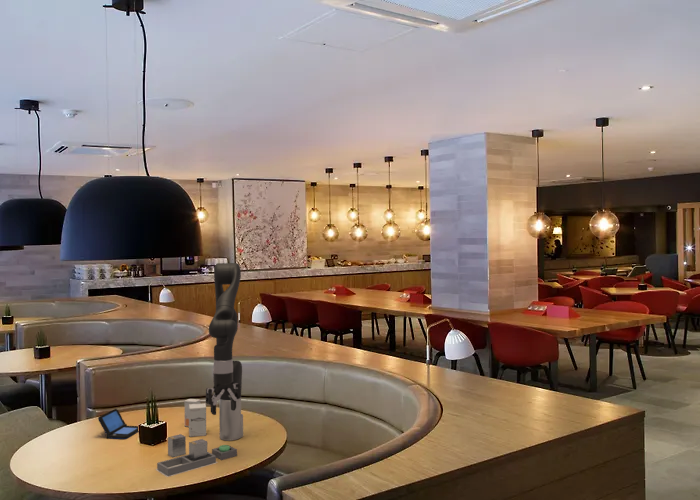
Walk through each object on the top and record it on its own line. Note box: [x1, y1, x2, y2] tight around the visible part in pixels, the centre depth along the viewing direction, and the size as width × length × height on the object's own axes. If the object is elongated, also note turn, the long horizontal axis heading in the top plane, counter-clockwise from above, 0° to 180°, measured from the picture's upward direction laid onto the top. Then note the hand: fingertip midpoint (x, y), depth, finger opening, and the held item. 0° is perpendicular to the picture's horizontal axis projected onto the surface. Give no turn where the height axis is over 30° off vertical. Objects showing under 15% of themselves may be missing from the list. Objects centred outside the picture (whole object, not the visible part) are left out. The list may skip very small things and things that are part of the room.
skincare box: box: [184, 398, 201, 428], centre depth 279 cm, size 6×4×12 cm
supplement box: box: [188, 402, 207, 438], centre depth 267 cm, size 7×7×13 cm
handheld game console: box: [97, 408, 139, 440], centre depth 269 cm, size 16×13×9 cm
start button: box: [218, 444, 230, 452], centre depth 238 cm, size 4×4×2 cm
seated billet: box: [188, 438, 208, 462], centre depth 230 cm, size 6×4×8 cm
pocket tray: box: [155, 451, 219, 478], centre depth 227 cm, size 20×10×4 cm, turn 133°
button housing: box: [211, 445, 238, 461], centre depth 238 cm, size 7×7×4 cm
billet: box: [167, 433, 187, 458], centre depth 239 cm, size 6×4×8 cm
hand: (223, 412), depth 237 cm, fingers open, 8 cm apart
